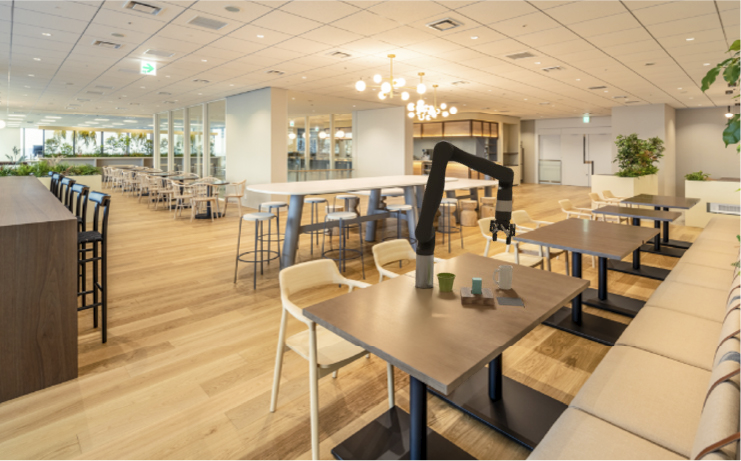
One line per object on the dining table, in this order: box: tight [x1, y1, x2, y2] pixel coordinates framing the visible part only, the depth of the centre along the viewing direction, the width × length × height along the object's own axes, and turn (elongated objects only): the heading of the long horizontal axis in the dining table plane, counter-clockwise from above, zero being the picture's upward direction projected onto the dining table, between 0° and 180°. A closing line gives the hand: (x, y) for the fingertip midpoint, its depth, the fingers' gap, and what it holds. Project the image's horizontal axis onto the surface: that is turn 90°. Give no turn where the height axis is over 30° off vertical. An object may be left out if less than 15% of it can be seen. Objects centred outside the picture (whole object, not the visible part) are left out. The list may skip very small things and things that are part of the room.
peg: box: [471, 276, 483, 294], centre depth 186 cm, size 4×4×10 cm
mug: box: [492, 264, 514, 290], centre depth 202 cm, size 10×7×12 cm, turn 96°
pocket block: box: [459, 286, 495, 307], centre depth 186 cm, size 14×14×4 cm
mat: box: [495, 296, 525, 309], centre depth 184 cm, size 11×11×1 cm
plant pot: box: [436, 272, 456, 293], centre depth 200 cm, size 9×9×9 cm
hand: (501, 242), depth 193 cm, fingers open, 8 cm apart
